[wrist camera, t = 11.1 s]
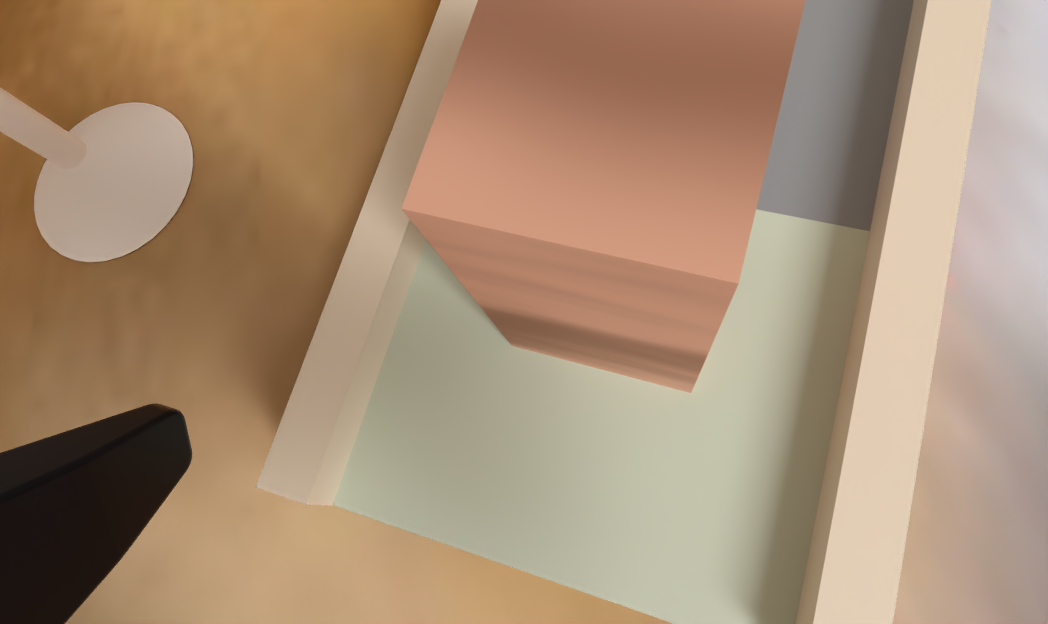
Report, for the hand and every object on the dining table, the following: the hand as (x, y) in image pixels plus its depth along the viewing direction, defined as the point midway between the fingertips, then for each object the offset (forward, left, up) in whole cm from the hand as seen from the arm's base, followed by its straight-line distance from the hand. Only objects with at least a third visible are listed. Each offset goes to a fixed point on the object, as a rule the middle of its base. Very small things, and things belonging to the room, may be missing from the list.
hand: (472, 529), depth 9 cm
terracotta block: (+4, +5, -9) cm, 11 cm away
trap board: (+7, +8, -11) cm, 15 cm away
